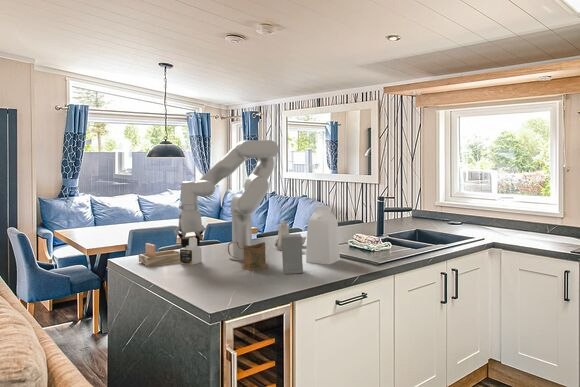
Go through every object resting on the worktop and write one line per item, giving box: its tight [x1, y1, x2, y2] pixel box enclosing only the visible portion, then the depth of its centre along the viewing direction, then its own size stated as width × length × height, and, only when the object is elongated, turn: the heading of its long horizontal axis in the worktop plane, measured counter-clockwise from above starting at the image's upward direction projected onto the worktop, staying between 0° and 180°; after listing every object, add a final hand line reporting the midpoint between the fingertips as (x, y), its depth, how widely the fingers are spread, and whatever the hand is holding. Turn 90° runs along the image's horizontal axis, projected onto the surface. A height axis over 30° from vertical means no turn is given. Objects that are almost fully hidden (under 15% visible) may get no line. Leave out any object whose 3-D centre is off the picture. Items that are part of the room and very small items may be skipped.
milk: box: [305, 204, 341, 265], centre depth 208 cm, size 12×12×26 cm
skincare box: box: [281, 233, 304, 275], centre depth 185 cm, size 8×7×16 cm
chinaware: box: [273, 219, 307, 251], centre depth 243 cm, size 28×17×17 cm, turn 171°
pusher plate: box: [144, 242, 157, 257], centre depth 209 cm, size 9×1×8 cm, turn 39°
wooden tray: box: [138, 249, 180, 267], centre depth 213 cm, size 12×18×4 cm, turn 129°
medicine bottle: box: [179, 236, 203, 266], centre depth 209 cm, size 7×7×12 cm
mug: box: [227, 241, 269, 271], centre depth 197 cm, size 12×18×12 cm, turn 111°
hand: (190, 245), depth 209 cm, fingers closed on medicine bottle, 6 cm apart
